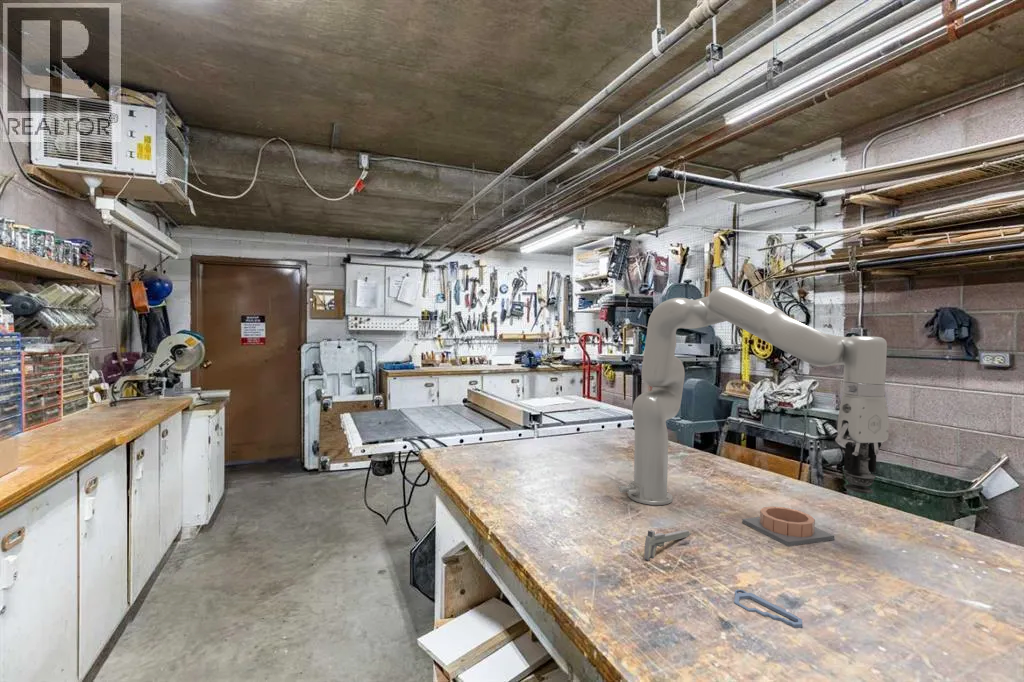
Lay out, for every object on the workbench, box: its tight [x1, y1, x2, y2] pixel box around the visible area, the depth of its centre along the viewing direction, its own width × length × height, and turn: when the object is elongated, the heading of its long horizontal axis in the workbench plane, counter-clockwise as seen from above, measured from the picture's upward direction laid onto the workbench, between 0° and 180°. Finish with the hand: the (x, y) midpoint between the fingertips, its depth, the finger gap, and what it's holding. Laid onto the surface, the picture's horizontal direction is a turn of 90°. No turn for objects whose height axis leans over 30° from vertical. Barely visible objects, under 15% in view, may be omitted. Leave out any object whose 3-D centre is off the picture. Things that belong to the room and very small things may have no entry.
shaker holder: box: [741, 505, 835, 547], centre depth 117 cm, size 14×14×4 cm
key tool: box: [733, 588, 803, 629], centre depth 82 cm, size 12×1×5 cm
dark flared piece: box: [843, 443, 876, 494], centre depth 106 cm, size 6×6×12 cm
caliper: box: [643, 529, 692, 562], centre depth 107 cm, size 20×1×6 cm, turn 135°
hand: (859, 470), depth 106 cm, fingers closed on dark flared piece, 4 cm apart
